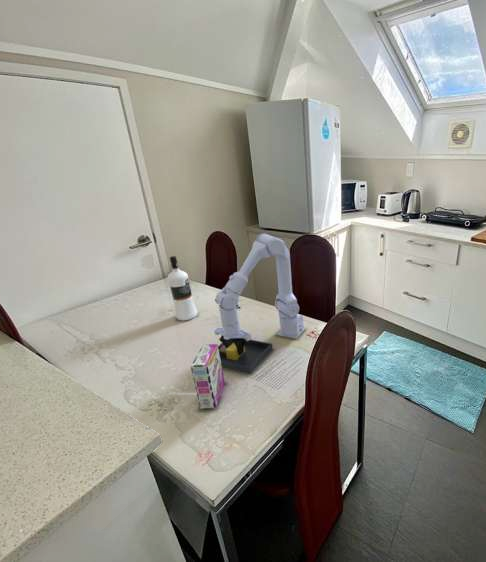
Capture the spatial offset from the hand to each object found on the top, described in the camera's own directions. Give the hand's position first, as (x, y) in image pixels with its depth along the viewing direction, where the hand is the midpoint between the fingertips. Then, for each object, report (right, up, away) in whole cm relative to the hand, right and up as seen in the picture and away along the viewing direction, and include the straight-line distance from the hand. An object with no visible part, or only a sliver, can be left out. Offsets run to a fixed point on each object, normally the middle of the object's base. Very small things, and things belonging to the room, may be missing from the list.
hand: (236, 352), depth 119 cm
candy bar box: (-1, -10, -18) cm, 21 cm away
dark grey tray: (+2, -2, 0) cm, 2 cm away
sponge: (0, -1, 0) cm, 1 cm away
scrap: (-5, 0, +1) cm, 5 cm away
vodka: (-33, +10, +29) cm, 45 cm away
